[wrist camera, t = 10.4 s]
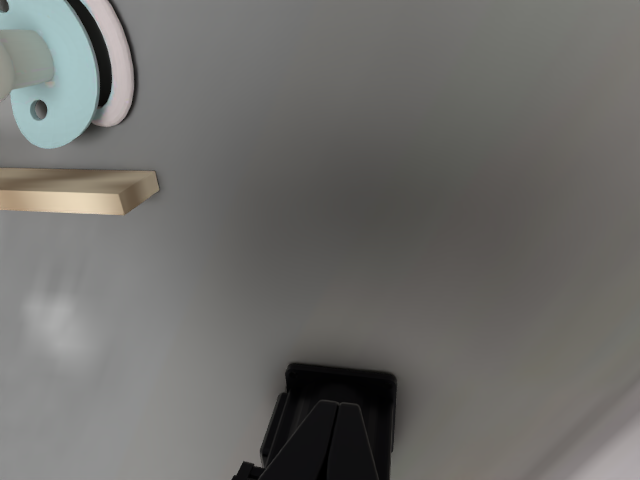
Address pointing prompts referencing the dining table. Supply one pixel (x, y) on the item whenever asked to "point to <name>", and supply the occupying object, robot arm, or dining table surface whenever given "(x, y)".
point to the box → (75, 190)
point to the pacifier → (61, 69)
